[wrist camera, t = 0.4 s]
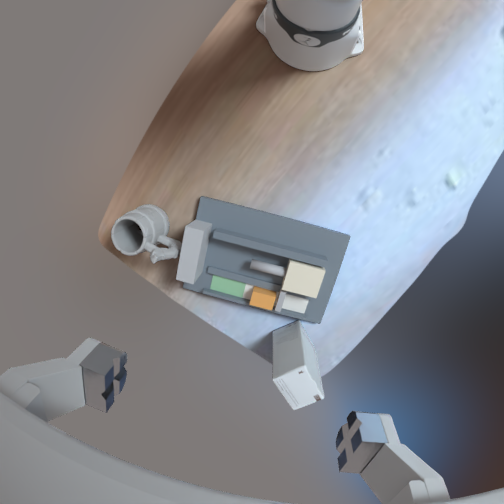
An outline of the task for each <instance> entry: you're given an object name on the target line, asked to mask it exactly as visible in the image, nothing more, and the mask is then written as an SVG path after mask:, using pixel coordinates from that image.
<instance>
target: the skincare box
mask: <svg viewBox="0 0 504 504" xmlns="http://www.w3.org/2000/svg"><path fill="white" fill-rule="evenodd" d="M272 380H273V382H274V383H275V385H276V386H277V388H278V389H279V391H280V392H281V394H282V395H283V396H284V398H285V399H286V401H287V402H288V404H289V405H290V406H291V407H292V409H293V410H296V409H299V408H301V407H304V406H306V405H309V404H311V403H314V402H317V401H318V400H321V399H324V393H323V387H322V382H321V376H320V371H319V365H318V360H317V355H316V349H315V347H314V345H313V343H312V342H311V340H310V338H309V336H308V334H307V333H306V331H305V329H304V328H303V326H302V324H301V322H300V320H298V321H295V322H293V323H291V324H289V325H286V326H284V327H281V328H279V329H277V330H274V331H273V376H272Z"/></svg>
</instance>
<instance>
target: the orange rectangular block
mask: <svg viewBox="0 0 504 504" xmlns="http://www.w3.org/2000/svg"><path fill="white" fill-rule="evenodd" d="M275 299H276V292H275V291H271V290H267V289H263V288H260V287H256V286H254V289H253V293H252V296H251V300H250V304H249V305H252V306H256V307H260V308H264V309H268V310H271V311H272V309H273V305H274V302H275Z"/></svg>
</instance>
